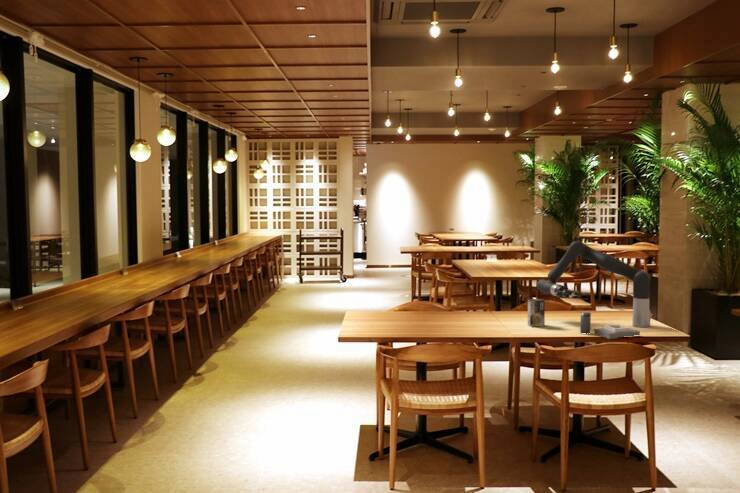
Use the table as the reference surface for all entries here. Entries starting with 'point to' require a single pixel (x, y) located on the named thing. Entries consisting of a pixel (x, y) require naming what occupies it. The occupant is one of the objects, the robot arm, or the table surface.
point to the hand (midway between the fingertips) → (574, 295)
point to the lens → (585, 322)
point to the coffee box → (536, 312)
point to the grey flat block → (615, 331)
